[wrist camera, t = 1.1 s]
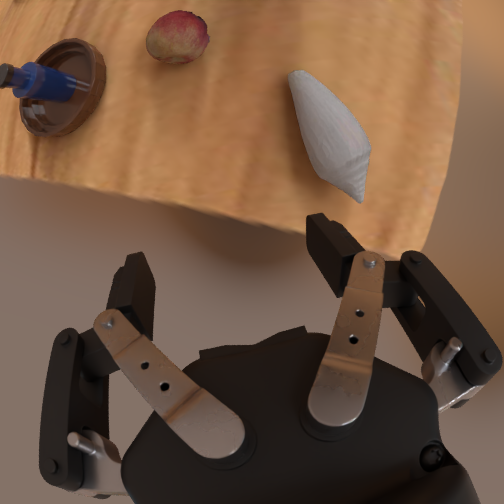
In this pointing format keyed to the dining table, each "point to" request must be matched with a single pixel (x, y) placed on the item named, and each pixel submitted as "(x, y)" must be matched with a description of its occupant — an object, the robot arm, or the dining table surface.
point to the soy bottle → (38, 82)
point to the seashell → (330, 135)
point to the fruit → (177, 37)
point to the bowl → (84, 98)
